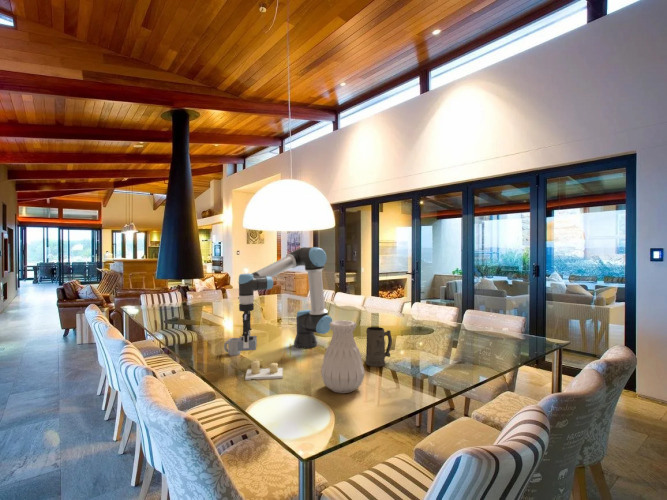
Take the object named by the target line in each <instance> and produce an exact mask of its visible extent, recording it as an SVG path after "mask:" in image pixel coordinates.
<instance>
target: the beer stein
mask: <svg viewBox="0 0 667 500" xmlns="http://www.w3.org/2000/svg"><path fill="white" fill-rule="evenodd" d="M365 332H366V348H365V349H366V350H365V354H366V355H365V365H367V366H369V367H373V368H374V367H375V368H377V367H383V366H385V365H386V360H385V359H386V357H388V358H391V353H390V350H391V347H392V344H393V338H392V334H391V330H386V331H385V329H384V328H383V327H379V326H368V327H367V328H366V331H365ZM385 336H387V338H388V339H387V340H388V341H387V347H386V341H385Z"/></svg>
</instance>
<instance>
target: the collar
mask: <svg viewBox="0 0 667 500" xmlns="http://www.w3.org/2000/svg"><path fill="white" fill-rule="evenodd" d="M238 338H239V339H238V351H241V352H243V351H244V352H245V351H246V352H247V351H256V350H257V347H258V342H257V339H258V338H257V335H250V336H249V348H243V336H242V335H241V336H238Z"/></svg>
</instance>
